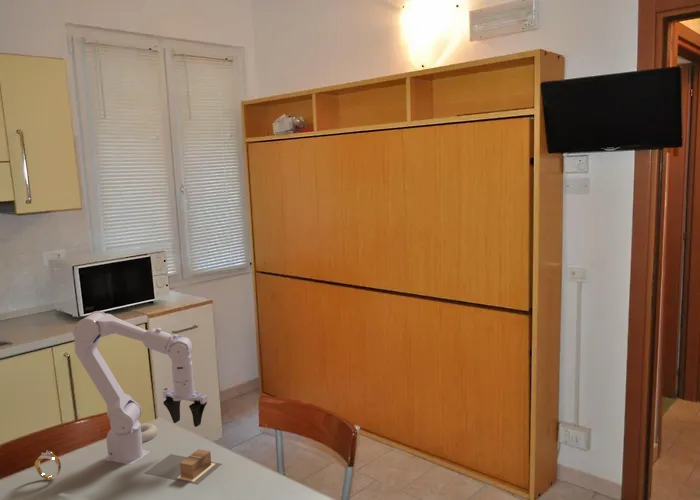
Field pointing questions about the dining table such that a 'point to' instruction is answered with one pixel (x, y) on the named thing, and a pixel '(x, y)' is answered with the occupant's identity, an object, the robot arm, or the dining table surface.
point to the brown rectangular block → (195, 464)
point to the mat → (178, 469)
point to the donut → (148, 431)
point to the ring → (52, 457)
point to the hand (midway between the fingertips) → (187, 423)
